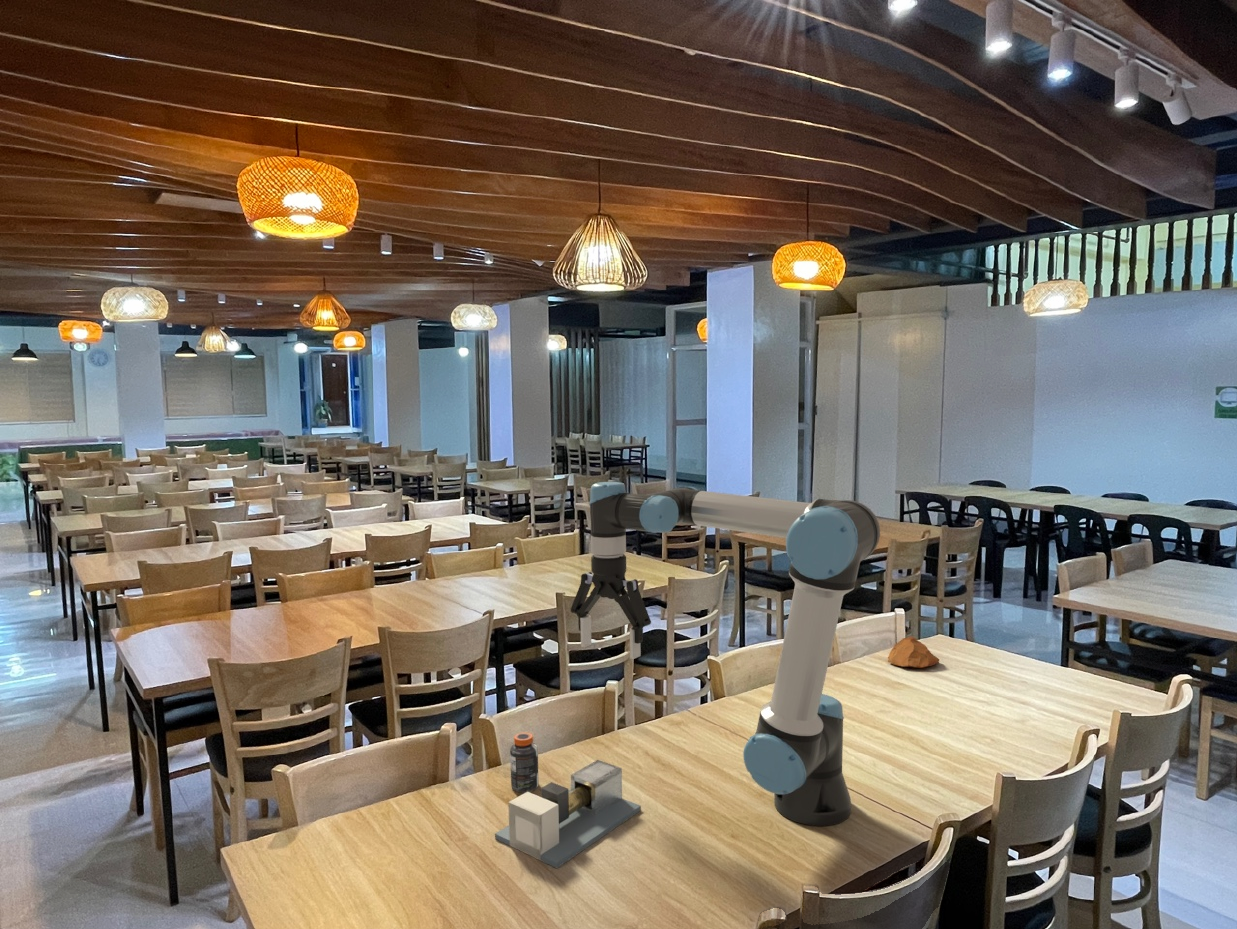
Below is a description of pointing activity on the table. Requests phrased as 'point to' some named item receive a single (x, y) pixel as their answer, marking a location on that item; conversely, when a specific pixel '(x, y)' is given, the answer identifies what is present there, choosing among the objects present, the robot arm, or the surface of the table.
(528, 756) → the pill bottle
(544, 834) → the socket
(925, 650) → the stone
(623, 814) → the board
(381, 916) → the table surface
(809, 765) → the robot arm
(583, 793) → the brass rod with grip
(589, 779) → the sleeve
